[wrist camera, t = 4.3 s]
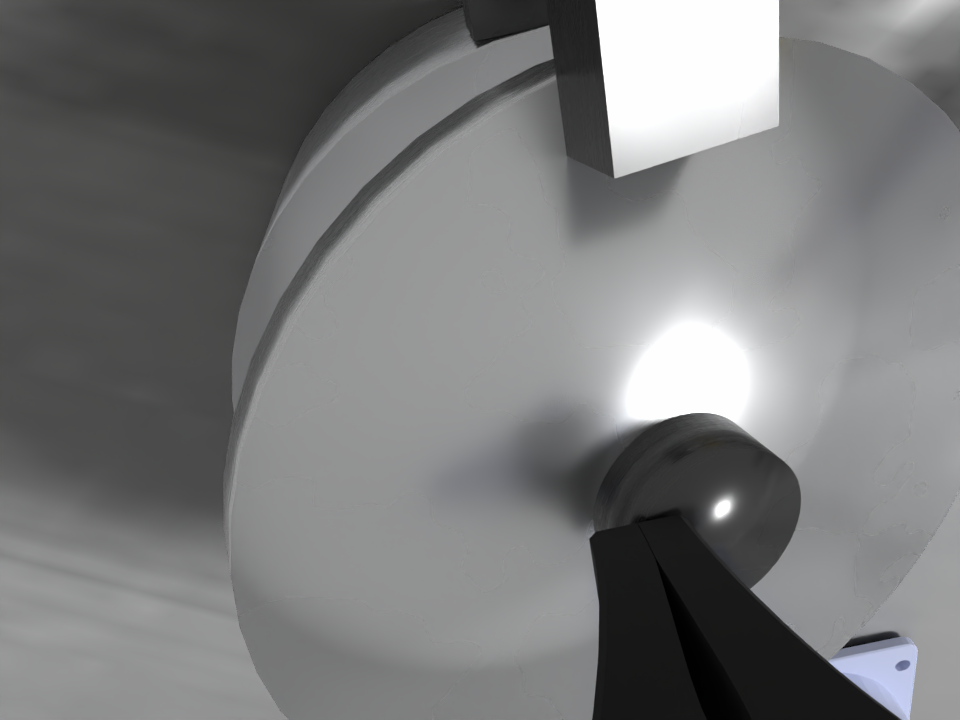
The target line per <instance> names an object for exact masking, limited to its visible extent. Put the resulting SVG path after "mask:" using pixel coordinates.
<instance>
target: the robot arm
mask: <svg viewBox="0 0 960 720" xmlns="http://www.w3.org/2000/svg"><path fill="white" fill-rule="evenodd" d="M589 542H590V548H591V555H592V561H593V568H594V574H595V581H596V587H597V593H598V600H599V645H598V665H597V676H596V687H595V698H594V708H593V717H592V720H909V718H910V710H911V702H912V694H913V686H914V678H915V670H916V662H917V654H918V650H917V647H916V646H915V644H914V643H913V641H912V640H911V639H910V638H907V637H897V638H892V639H887V640H882V641H877V642H873V643H868V644H863V645H858V646H853V647H848V648H844V649H841V650H840V651H839V652H838V653H837V654H835V655H834V656H833V657H832V658H831V659H830V660H829V661H827V660H826V659H825V658H824V657H822V656H821V655H820V654H819V653H818V652H817V651H815V650H814V649H813V648H812V647H811V646H810V645H808V644H807V643H806V642H805V641H804V640H803V639H802V638H801V637H800V636H798V635H797V634H796V633H795V632H794V631H793V630H792V629H791V628H790V627H789V626H787V625H786V624H785V623H784V622H783V621H782V620H781V619H780V618H779V617H778V616H777V615H776V614H775V613H774V612H773V611H772V610H771V609H770V608H769V607H768V606H767V605H766V604H765V603H764V602H762V601H761V600H760V599H759V598H758V597H757V596H756V595H755V594H754V593H753V592H752V591H751V590H750V589H749V588H748V587H747V586H746V585H745V584H744V583H743V582H742V581H741V580H740V579H739V578H738V576H737V575H736V574H735V573H734V572H733V571H732V570H731V569H730V568H729V567H728V566H727V565H726V564H725V563H724V562H723V561H722V559H721V558H720V557H719V556H718V555H717V554H716V553H715V552H714V551H713V550H712V548H711V547H710V546H709V545H708V544H707V543H706V542H705V540H704V539H703V538H702V537H701V536H700V535H699V533H698V532H697V531H696V530H695V529H694V527H693V526H692V525H691V524H690V522H689V521H688V520H687V519H686V518H684V517H683V516H681V515H674V516H669V517H664V518H659V519H654V520H649V521H644V522H640V523H638V524H637V523H635V524H630V525H625V526H620V527H615V528H610V529H606V530H601V531H596V532H595V533H594V534H593V535H592V536H591V537H590V539H589Z"/></svg>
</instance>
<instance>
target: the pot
mask: <svg viewBox="0 0 960 720" xmlns="http://www.w3.org/2000/svg"><path fill="white" fill-rule="evenodd" d="M461 1H462V6H463V7H461V8H459V9H457V10H455V11H453V12H450V13H448V14H446V15H444V16H441V17H439V18H437V19H435V20H433V21H430V22H428V23H426V24H425V25H423V26H421V27H420V28H418V29H417V30H415V31H413V32H412V33H410V34H409V35H407V36H405V37H404V38H402V39H401V40H399V41H397V42H396V43H394V44H393V45H391V46H390V47H388V48H387V49H386V50H385V51H383V52H382V53H381V54H380V55H379V56H378V57H376V58H375V59H374V60H373V61H372V62H370V63H369V64H368V65H367V66H366V67H364V68H363V69H362V70H361V71H360V72H358V73H357V74H356V75H355V76H354V77H353V78H352V79H351V81H350V82H349V83H348V84H347V85H346V86H345V87H344V88H343V89H342V91H341V92H340V93H339V94H338V95H337V96H336V97H335V98H334V99H333V101H332V102H331V103H330V104H329V105H328V106H327V107H326V109H325V110H324V112H323V113H322V115H321V116H320V118H319V119H318V121H317V122H316V124H315V125H314V127H313V128H312V130H311V131H310V133H309V134H308V135H307V137H306V138H305V140H304V141H303V144H302V146H301V148H300V150H299V152H298V154H297V156H296V158H295V160H294V162H293V164H292V166H291V168H290V170H289V172H288V174H287V176H286V179H285V182H284V184H283V187H282V190H281V192H280V195H279V198H278V201H277V203H276V206H275V209H274V212H273V214H272V217H271V220H270V222H269V225H268V228H267V231H266V233H265V236H264V239H263V242H262V244H261V247H260V250H259V252H258V255H257V258H256V261H255V263H254V266H253V269H252V272H251V275H250V279H249V282H248V285H247V288H246V291H245V294H244V298H243V301H242V304H241V307H240V310H239V314H238V321H237V327H236V334H235V340H234V347H233V354H232V403H233V409H234V413H235V409H236V406H237V403H238V400H239V397H240V393H241V390H242V387H243V384H244V380H245V377H246V374H247V371H248V367H249V364H250V361H251V359H252V357H253V354H254V352H255V350H256V348H257V346H258V344H259V342H260V339H261V337H262V335H263V333H264V331H265V329H266V327H267V325H268V322H269V320H270V318H271V316H272V314H273V312H274V310H275V308H276V305H277V303H278V301H279V299H280V298H281V296H282V295H283V293H284V292H285V290H286V289H287V287H288V285H289V284H290V282H291V281H292V279H293V278H294V276H295V275H296V273H297V271H298V270H299V268H300V267H301V265H302V264H303V262H304V261H305V259H306V257H307V256H308V254H309V253H310V251H311V250H312V248H313V247H314V245H315V244H316V242H317V241H318V240H319V238H320V237H321V236H322V235H323V234H324V232H325V231H326V230H327V229H328V228H329V227H330V225H331V224H332V223H333V222H334V221H335V219H336V218H337V217H338V216H339V215H340V213H341V212H342V211H343V210H344V209H345V208H346V206H347V205H348V204H349V203H350V202H351V200H352V199H353V198H354V197H355V196H356V195H357V193H358V192H359V191H360V190H361V189H362V187H363V186H365V185H366V184H367V183H368V182H369V181H370V180H371V179H372V178H373V177H374V176H375V175H377V174H378V173H379V172H380V171H381V170H382V169H383V168H384V167H385V166H386V165H387V164H389V163H390V162H391V161H392V160H393V159H394V158H395V157H396V156H397V155H398V154H399V153H401V152H402V151H403V150H404V149H405V148H406V147H407V146H408V145H409V144H410V143H411V142H412V141H414V140H415V139H416V138H417V137H419V136H420V135H421V134H423V133H424V132H426V131H427V130H428V129H430V128H431V127H433V126H434V125H436V124H437V123H438V122H440V121H441V120H443V119H444V118H445V117H447V116H448V115H450V114H451V113H453V112H454V111H455V110H457V109H458V108H460V107H461V106H463V105H464V104H465V103H467V102H468V101H470V100H471V99H472V98H474V97H476V96H478V95H479V94H481V93H483V92H485V91H487V90H489V89H491V88H493V87H495V86H497V85H499V84H500V83H502V82H504V81H506V80H508V79H510V78H512V77H514V76H516V75H518V74H520V73H521V72H523V71H525V70H527V69H529V68H531V67H533V66H535V65H537V64H540V63H543V62H546V61H548V60H551V59H554V57H553V50H552V42H551V35H550V28H549V20H548V13H547V5H546V0H461Z"/></svg>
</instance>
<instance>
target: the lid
mask: <svg viewBox="0 0 960 720" xmlns="http://www.w3.org/2000/svg"><path fill="white" fill-rule="evenodd" d="M546 5H547V13H548V20H549V28H550V35H551V42H552V50H553V57H554V59H551V60H548V61H546V62H543V63H540V64H537V65H535V66H533V67H531V68H529V69H527V70H525V71H523V72H521V73H520V74H518V75H516V76H514V77H512V78H510V79H508V80H506V81H504V82H502V83H500V84H499V85H497V86H495V87H493V88H491V89H489V90H487V91H485V92H483V93H481V94H479V95H478V96H476V97H474V98H472V99H471V100H470V101H468V102H467V103H465V104H464V105H463V106H461V107H460V108H458V109H457V110H455V111H454V112H453V113H451V114H450V115H448V116H447V117H445V118H444V119H443V120H441V121H440V122H438V123H437V124H436V125H434V126H433V127H431V128H430V129H428V130H427V131H426V132H424V133H423V134H421V135H420V136H419V137H417V138H416V139H415V140H414V141H412V142H411V143H410V144H409V145H408V146H407V147H406V148H405V149H404V150H403V151H402V152H401V153H399V154H398V155H397V156H396V157H395V158H394V159H393V160H392V161H391V162H390V163H389V164H387V165H386V166H385V167H384V168H383V169H382V170H381V171H380V172H379V173H378V174H377V175H375V176H374V177H373V178H372V179H371V180H370V181H369V182H368V183H367V184H366V185H365V186H363V187H362V189H361V190H360V191H359V192H358V193H357V195H356V196H355V197H354V198H353V199H352V200H351V202H350V203H349V204H348V205H347V206H346V208H345V209H344V210H343V211H342V212H341V213H340V215H339V216H338V217H337V218H336V219H335V221H334V222H333V223H332V224H331V225H330V227H329V228H328V229H327V230H326V231H325V232H324V234H323V235H322V236H321V237H320V238H319V240H318V241H317V242H316V244H315V245H314V247H313V248H312V250H311V251H310V253H309V254H308V256H307V257H306V259H305V261H304V262H303V264H302V265H301V267H300V268H299V270H298V271H297V273H296V275H295V276H294V278H293V279H292V281H291V282H290V284H289V285H288V287H287V289H286V290H285V292H284V293H283V295H282V296H281V298H280V299H279V301H278V303H277V305H276V308H275V310H274V312H273V314H272V316H271V318H270V320H269V322H268V325H267V327H266V329H265V331H264V333H263V335H262V337H261V339H260V342H259V344H258V346H257V348H256V350H255V352H254V354H253V357H252V359H251V361H250V364H249V367H248V371H247V374H246V377H245V380H244V384H243V387H242V390H241V393H240V397H239V400H238V403H237V406H236V409H235V413H234V416H233V419H232V425H231V431H230V438H229V444H228V451H227V457H226V464H225V470H224V477H223V498H224V537H225V543H226V549H227V555H228V562H229V568H230V574H231V580H232V586H233V591H234V597H235V603H236V608H237V614H238V619H239V625H240V629H241V632H242V634H243V637H244V640H245V642H246V645H247V647H248V650H249V653H250V655H251V658H252V661H253V663H254V666H255V669H256V671H257V673H258V675H259V677H260V678H261V680H262V681H263V683H264V685H265V686H266V688H267V690H268V691H269V693H270V695H271V696H272V698H273V699H274V701H275V703H276V704H277V706H278V708H279V709H280V711H281V712H282V713H283V714H284V715H285V716H286V717H287V718H288V719H289V720H592V717H593V708H594V698H595V687H596V676H597V665H598V645H599V600H598V593H597V587H596V581H595V574H594V568H593V561H592V555H591V548H590V542H589V539H590V537H591V536H592V535H593V534H594V533H595V532H596V531H601V530H606V529H610V528H615V527H620V526H625V525H630V524H635V523H637V524H638V523H640V522H644V521H649V520H654V519H659V518H664V517H669V516H674V515H681V516H683V517H684V518H686V519H687V520H688V521H689V522H690V524H691V525H692V526H693V527H694V529H695V530H696V531H697V532H698V533H699V535H700V536H701V537H702V538H703V539H704V540H705V542H706V543H707V544H708V545H709V546H710V547H711V548H712V550H713V551H714V552H715V553H716V554H717V555H718V556H719V557H720V558H721V559H722V561H723V562H724V563H725V564H726V565H727V566H728V567H729V568H730V569H731V570H732V571H733V572H734V573H735V574H736V575H737V576H738V578H739V579H740V580H741V581H742V582H743V583H744V584H745V585H746V586H747V587H748V588H749V589H750V590H751V591H752V592H753V593H754V594H755V595H756V596H757V597H758V598H759V599H760V600H761V601H762V602H764V603H765V604H766V605H767V606H768V607H769V608H770V609H771V610H772V611H773V612H774V613H775V614H776V615H777V616H778V617H779V618H780V619H781V620H782V621H783V622H784V623H785V624H786V625H787V626H789V627H790V628H791V629H792V630H793V631H794V632H795V633H796V634H797V635H798V636H800V637H801V638H802V639H803V640H804V641H805V642H806V643H807V644H808V645H810V646H811V647H812V648H813V649H814V650H815V651H817V652H818V653H819V654H820V655H821V656H822V657H824V658H825V659H826V660H827V661H829V660H830V659H831V658H832V657H833V656H834V655H835V654H837V653H838V652H839V651H840V650H841V649H842V648H843V647H844V646H845V644H846V643H847V642H848V641H849V640H850V639H851V638H852V637H853V636H854V635H855V634H856V633H857V632H858V631H859V630H860V629H861V628H862V627H863V626H864V625H865V624H866V623H867V622H868V621H869V620H870V619H871V618H872V616H873V615H874V614H875V613H876V612H877V610H878V609H879V608H880V607H881V606H882V605H883V603H884V602H885V601H886V600H887V599H888V598H889V596H890V595H891V594H892V593H893V592H894V591H895V589H896V588H897V587H898V586H899V584H900V583H901V581H902V580H903V579H904V577H905V576H906V575H907V573H908V572H909V571H910V569H911V568H912V567H913V565H914V564H915V562H916V561H917V560H918V558H919V557H920V556H921V554H922V553H923V551H924V550H925V548H926V547H927V545H928V543H929V542H930V540H931V539H932V537H933V535H934V534H935V532H936V531H937V529H938V527H939V526H940V524H941V523H942V521H943V520H944V518H945V516H946V515H947V513H948V511H949V509H950V507H951V505H952V503H953V501H954V499H955V497H956V496H957V494H958V492H959V490H960V131H959V130H958V129H957V127H956V126H955V125H954V124H953V122H952V121H951V120H950V118H949V117H948V116H947V115H946V113H945V112H944V111H943V110H942V109H941V108H940V107H938V106H937V105H936V104H935V103H934V102H933V101H931V100H930V99H929V98H928V97H927V96H926V95H925V94H923V93H922V92H921V91H920V90H919V89H918V88H916V87H915V86H914V85H913V84H912V83H911V82H909V81H908V80H906V79H904V78H902V77H901V76H899V75H897V74H895V73H893V72H892V71H890V70H888V69H886V68H885V67H883V66H881V65H879V64H878V63H876V62H874V61H872V60H870V59H869V58H866V57H863V56H860V55H857V54H854V53H851V52H848V51H845V50H842V49H839V48H836V47H833V46H830V45H827V44H823V43H820V42H815V41H808V40H800V39H793V38H785V37H779V0H546Z"/></svg>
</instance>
